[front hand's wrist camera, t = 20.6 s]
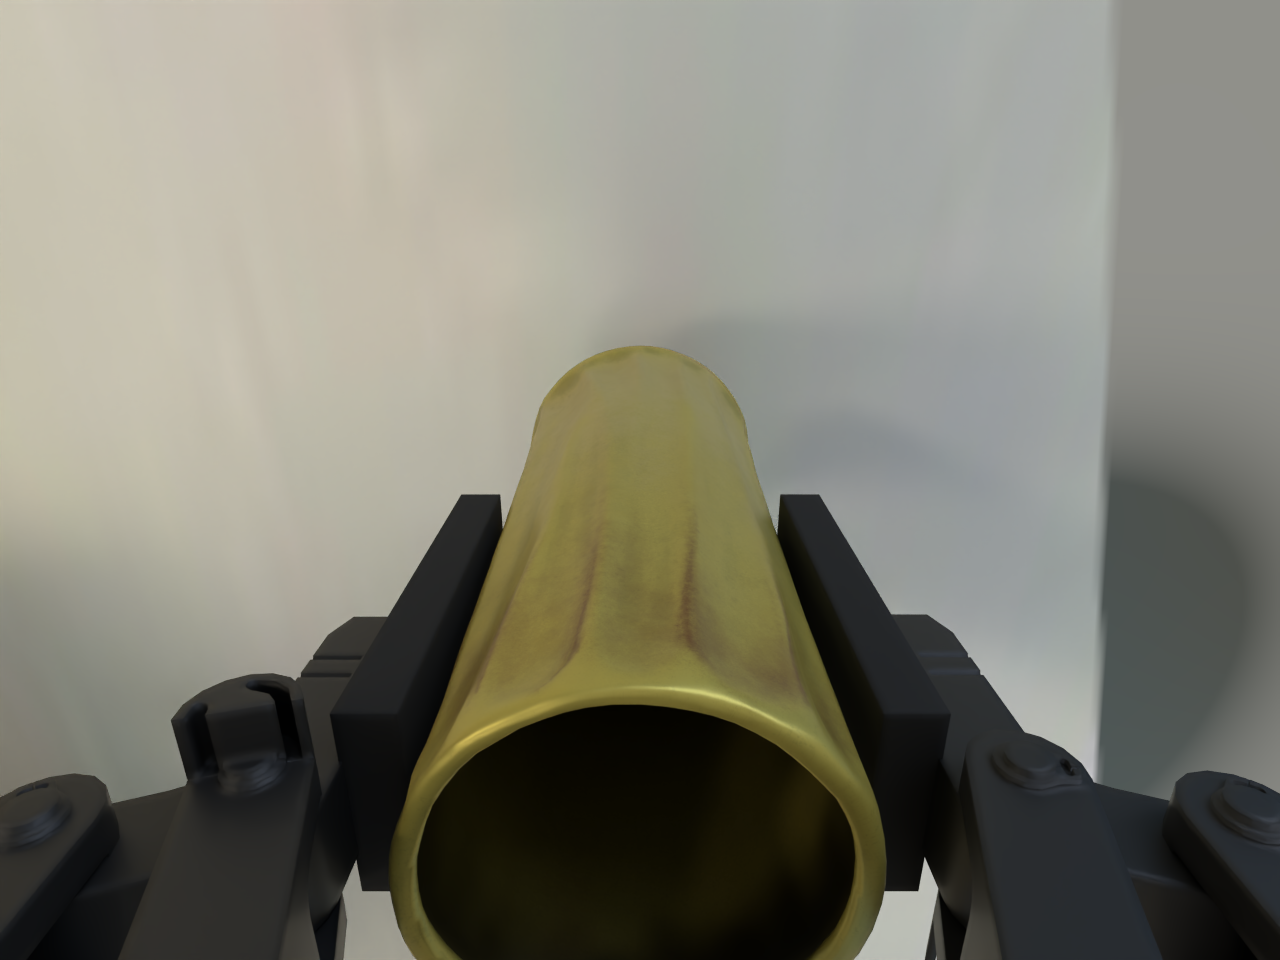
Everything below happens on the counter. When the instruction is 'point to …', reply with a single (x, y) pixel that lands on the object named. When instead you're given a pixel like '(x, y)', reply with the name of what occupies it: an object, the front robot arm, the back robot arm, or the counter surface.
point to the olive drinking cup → (638, 710)
